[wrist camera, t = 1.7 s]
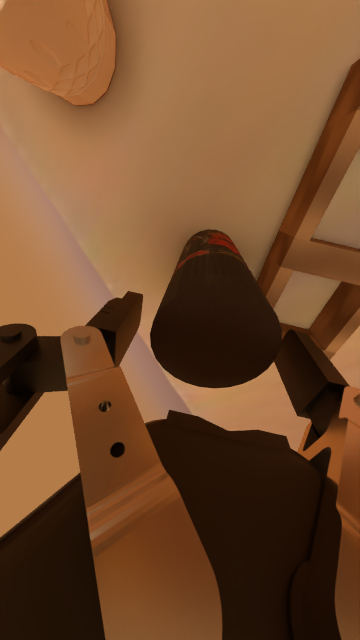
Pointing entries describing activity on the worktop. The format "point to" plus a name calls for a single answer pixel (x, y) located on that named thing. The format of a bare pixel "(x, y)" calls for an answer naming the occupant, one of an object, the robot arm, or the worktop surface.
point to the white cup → (59, 46)
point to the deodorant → (214, 317)
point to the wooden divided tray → (303, 218)
